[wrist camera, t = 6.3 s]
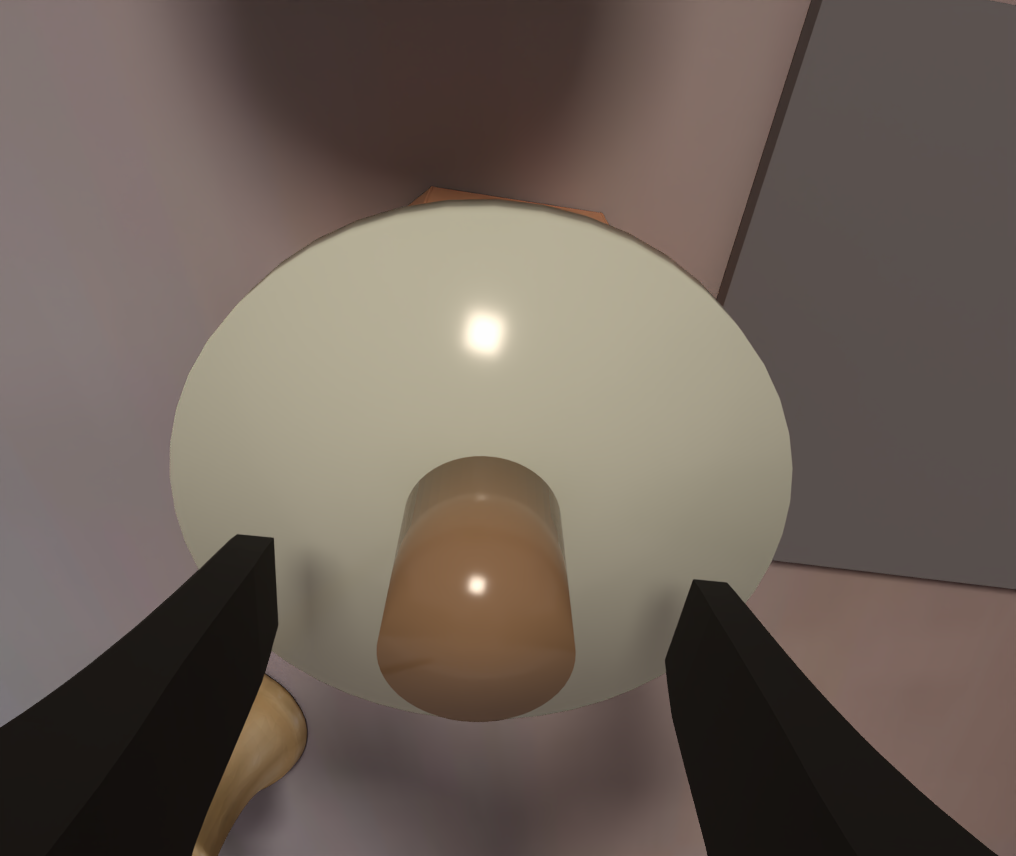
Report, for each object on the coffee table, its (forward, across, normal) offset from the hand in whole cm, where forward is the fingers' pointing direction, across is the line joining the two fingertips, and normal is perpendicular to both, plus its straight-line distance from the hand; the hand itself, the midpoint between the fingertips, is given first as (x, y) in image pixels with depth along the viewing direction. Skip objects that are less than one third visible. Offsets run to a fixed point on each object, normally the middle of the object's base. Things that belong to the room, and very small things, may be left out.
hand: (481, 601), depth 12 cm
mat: (+8, -13, -3) cm, 16 cm away
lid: (+3, 0, 0) cm, 3 cm away
